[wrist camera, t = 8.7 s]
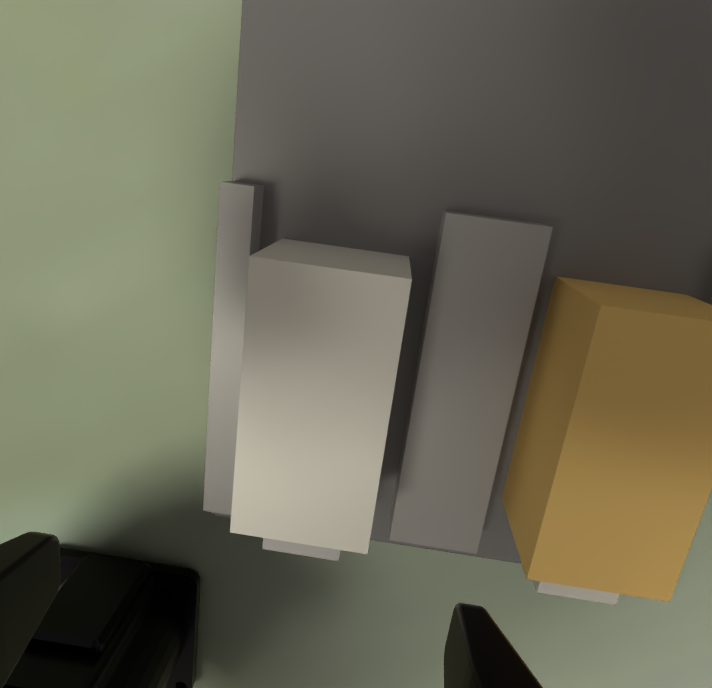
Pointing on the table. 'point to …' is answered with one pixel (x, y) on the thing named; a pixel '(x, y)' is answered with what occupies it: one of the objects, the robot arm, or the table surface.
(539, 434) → the amber plug
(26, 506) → the table surface
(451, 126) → the organiser
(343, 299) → the grey plug
